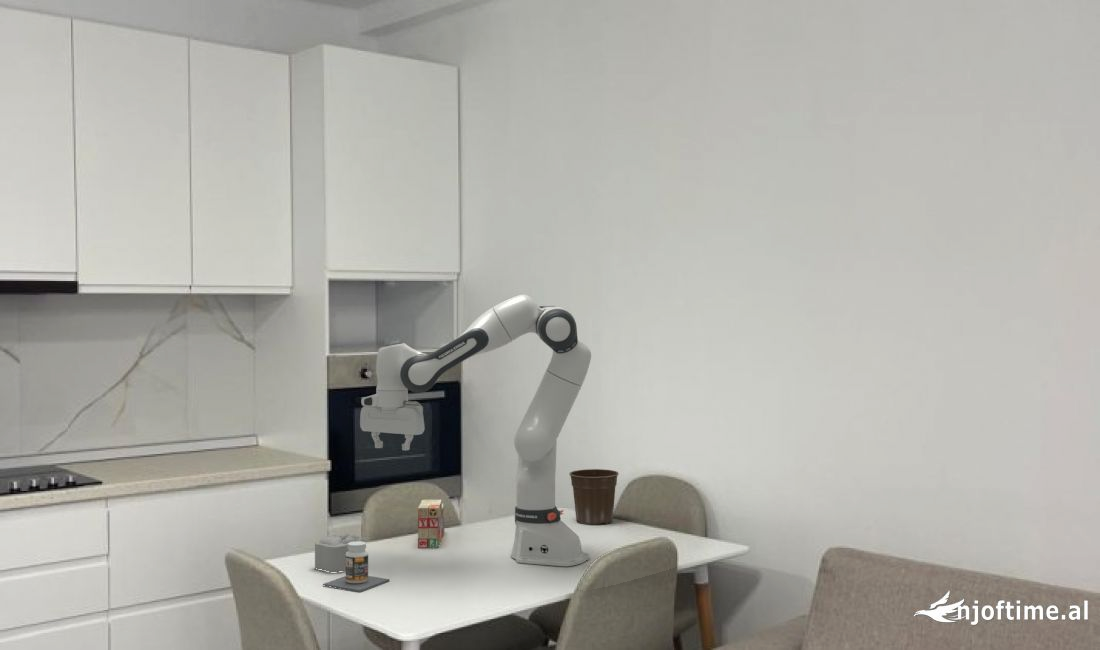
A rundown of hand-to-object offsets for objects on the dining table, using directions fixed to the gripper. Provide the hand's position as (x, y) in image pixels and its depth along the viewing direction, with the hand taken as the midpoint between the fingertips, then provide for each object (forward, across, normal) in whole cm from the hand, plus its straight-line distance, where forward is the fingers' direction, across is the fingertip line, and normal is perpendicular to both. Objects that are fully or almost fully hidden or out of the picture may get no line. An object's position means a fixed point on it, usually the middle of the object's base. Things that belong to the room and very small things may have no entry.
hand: (392, 449), depth 304 cm
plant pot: (+31, -27, -73) cm, 84 cm away
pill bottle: (+31, -8, +26) cm, 41 cm away
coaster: (+31, -8, +26) cm, 41 cm away
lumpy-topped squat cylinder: (+31, +7, +14) cm, 35 cm away
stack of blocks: (+32, +4, -25) cm, 40 cm away
